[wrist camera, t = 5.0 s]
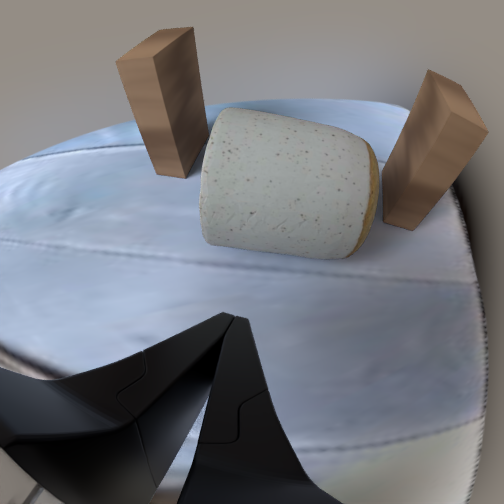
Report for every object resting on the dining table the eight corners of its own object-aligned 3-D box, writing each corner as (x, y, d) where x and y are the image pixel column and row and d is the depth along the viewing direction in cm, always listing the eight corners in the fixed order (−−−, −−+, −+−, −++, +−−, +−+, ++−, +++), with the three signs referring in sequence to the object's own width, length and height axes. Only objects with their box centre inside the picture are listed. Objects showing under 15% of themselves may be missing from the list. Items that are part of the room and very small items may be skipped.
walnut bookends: (412, 231, 17) (488, 132, 8) (156, 174, 20) (115, 61, 11) (408, 180, 20) (460, 85, 11) (182, 132, 22) (159, 29, 13)
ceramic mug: (344, 283, 16) (402, 209, 9) (209, 267, 16) (181, 181, 10) (339, 158, 21) (362, 78, 14) (238, 146, 21) (234, 61, 14)
